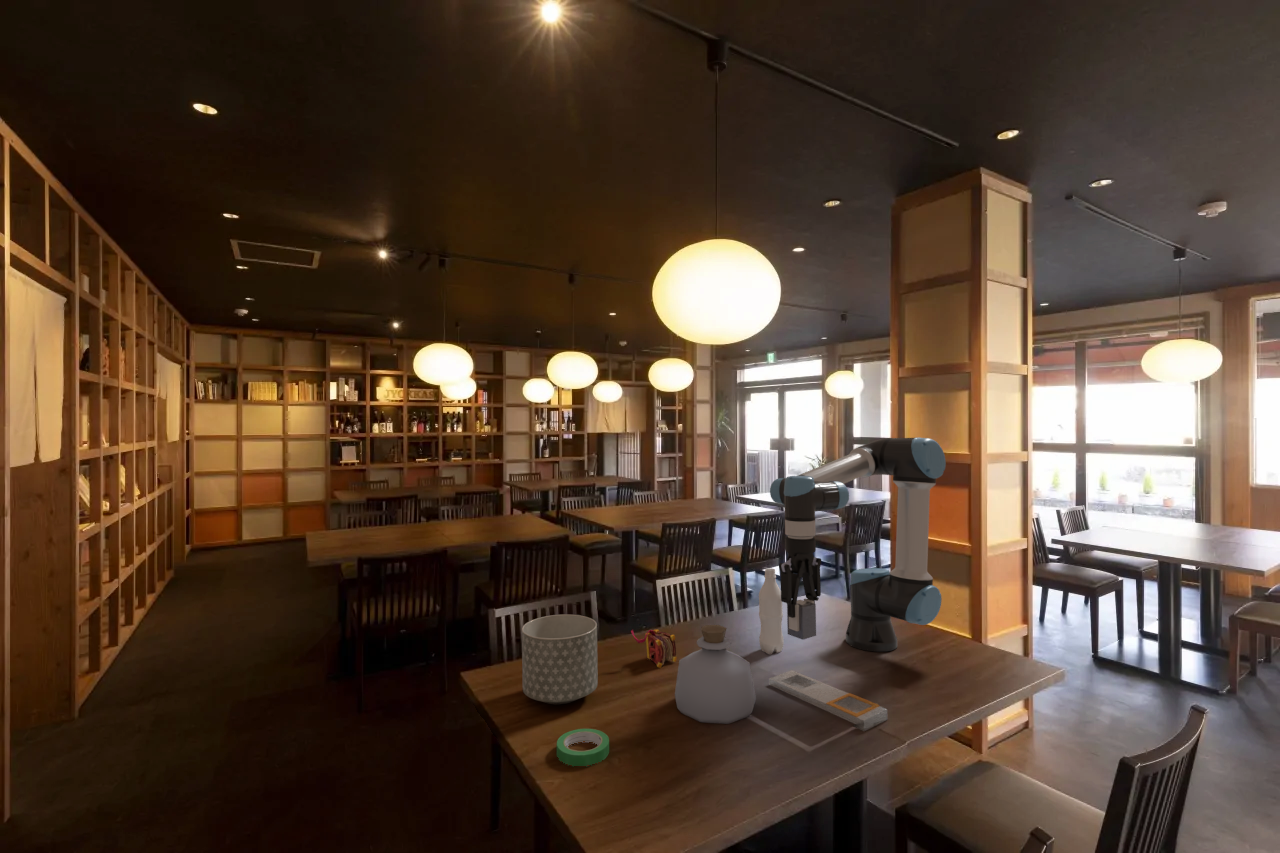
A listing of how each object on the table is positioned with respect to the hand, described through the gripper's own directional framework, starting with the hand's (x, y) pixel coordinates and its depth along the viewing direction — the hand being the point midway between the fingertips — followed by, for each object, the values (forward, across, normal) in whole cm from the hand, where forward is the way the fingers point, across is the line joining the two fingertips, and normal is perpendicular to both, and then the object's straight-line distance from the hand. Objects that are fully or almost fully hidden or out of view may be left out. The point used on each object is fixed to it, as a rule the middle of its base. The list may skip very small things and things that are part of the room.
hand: (801, 627), depth 149 cm
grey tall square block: (+2, 0, 0) cm, 2 cm away
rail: (+17, 0, +7) cm, 18 cm away
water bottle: (+17, -15, -25) cm, 33 cm away
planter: (+17, +52, -34) cm, 64 cm away
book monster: (+17, +20, -39) cm, 47 cm away
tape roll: (+17, +59, -8) cm, 62 cm away
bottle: (+17, +23, -8) cm, 30 cm away
